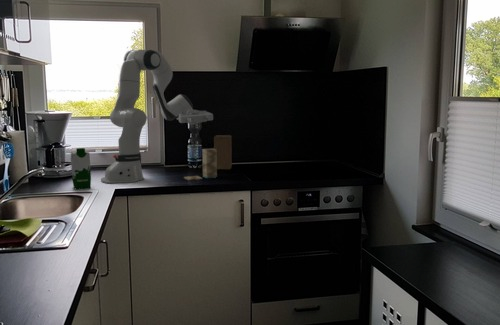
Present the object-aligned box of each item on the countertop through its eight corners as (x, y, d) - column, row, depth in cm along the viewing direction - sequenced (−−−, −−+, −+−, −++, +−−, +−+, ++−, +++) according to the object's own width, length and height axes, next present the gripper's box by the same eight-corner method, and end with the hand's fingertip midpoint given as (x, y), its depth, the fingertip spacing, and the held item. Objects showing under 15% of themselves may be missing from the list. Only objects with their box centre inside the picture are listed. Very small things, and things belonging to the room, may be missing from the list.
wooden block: (230, 169, 298) (230, 136, 295) (214, 169, 298) (214, 136, 295) (231, 166, 308) (231, 135, 305) (215, 166, 308) (215, 135, 305)
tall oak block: (206, 178, 269) (206, 150, 267) (202, 176, 275) (202, 149, 272) (216, 177, 272) (216, 149, 270) (212, 175, 277) (212, 148, 275)
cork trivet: (188, 180, 263) (188, 179, 263) (183, 178, 270) (183, 176, 270) (202, 179, 267) (202, 178, 267) (197, 176, 274) (197, 175, 274)
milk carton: (74, 190, 239) (72, 149, 236) (71, 186, 247) (69, 147, 244) (92, 188, 243) (90, 148, 240) (89, 185, 251) (87, 146, 248)
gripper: (175, 113, 286) (182, 115, 274) (208, 110, 295) (216, 112, 282) (175, 123, 288) (182, 126, 275) (208, 120, 296) (216, 123, 284)
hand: (199, 119), depth 279 cm, fingers open, 8 cm apart
